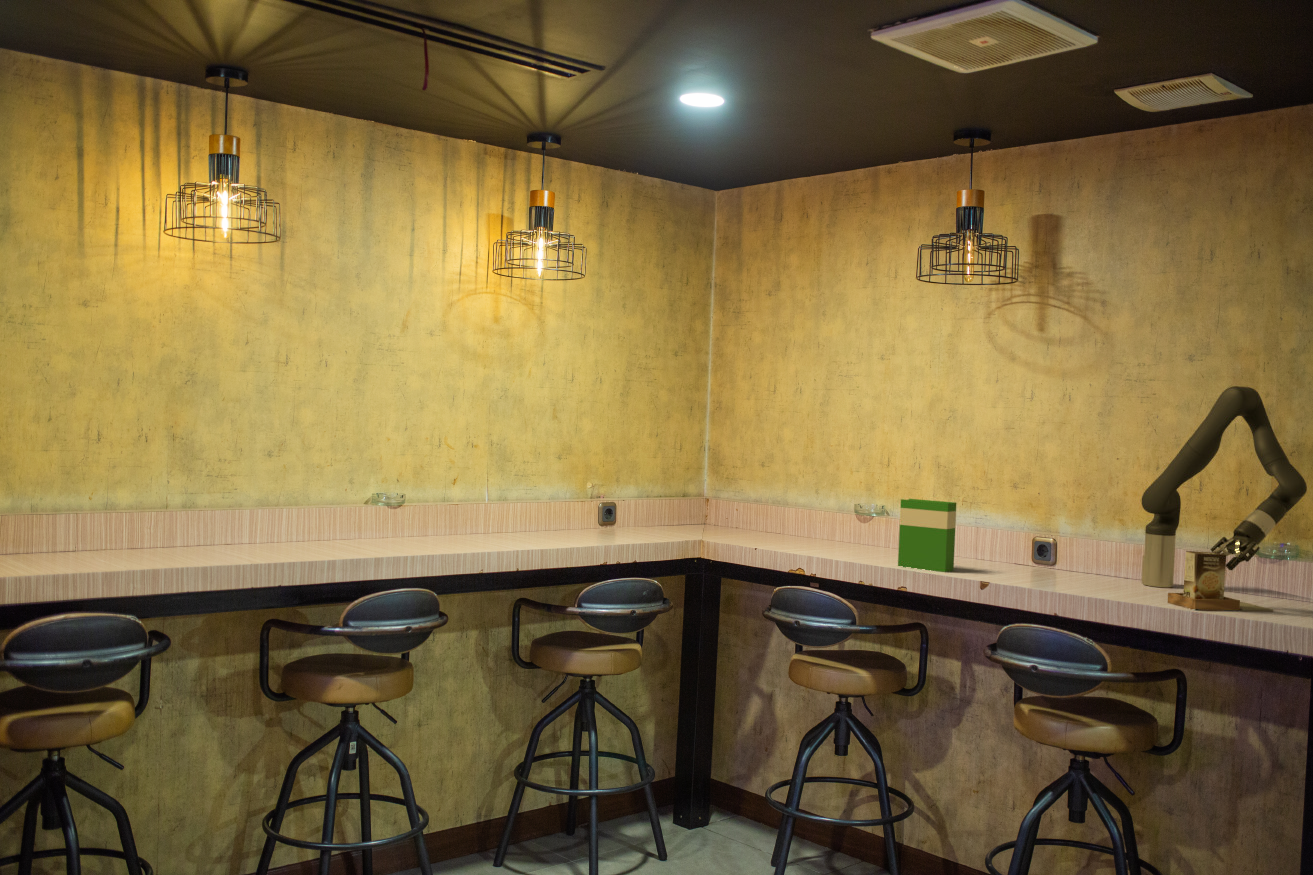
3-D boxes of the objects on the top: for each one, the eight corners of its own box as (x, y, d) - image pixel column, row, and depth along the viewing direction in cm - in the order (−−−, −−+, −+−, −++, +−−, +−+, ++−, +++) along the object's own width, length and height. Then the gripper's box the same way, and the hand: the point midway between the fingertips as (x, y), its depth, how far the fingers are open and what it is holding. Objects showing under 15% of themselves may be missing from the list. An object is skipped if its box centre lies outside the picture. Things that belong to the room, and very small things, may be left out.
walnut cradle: (1167, 602, 322) (1168, 592, 322) (1210, 603, 324) (1211, 593, 324) (1194, 610, 309) (1195, 599, 309) (1239, 610, 312) (1239, 600, 312)
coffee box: (1193, 608, 313) (1196, 553, 313) (1182, 604, 320) (1184, 550, 320) (1224, 609, 314) (1226, 554, 313) (1212, 605, 320) (1214, 551, 320)
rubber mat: (1212, 602, 324) (1212, 601, 324) (1241, 603, 326) (1241, 601, 326) (1242, 610, 312) (1242, 609, 312) (1273, 611, 313) (1273, 609, 313)
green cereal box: (897, 566, 382) (900, 499, 382) (906, 564, 388) (909, 498, 387) (945, 572, 371) (948, 503, 371) (953, 570, 377) (956, 502, 377)
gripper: (1230, 517, 326) (1194, 554, 324) (1264, 521, 312) (1227, 560, 310) (1245, 534, 327) (1209, 571, 325) (1279, 540, 312) (1242, 578, 311)
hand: (1218, 566), depth 317 cm, fingers open, 8 cm apart
